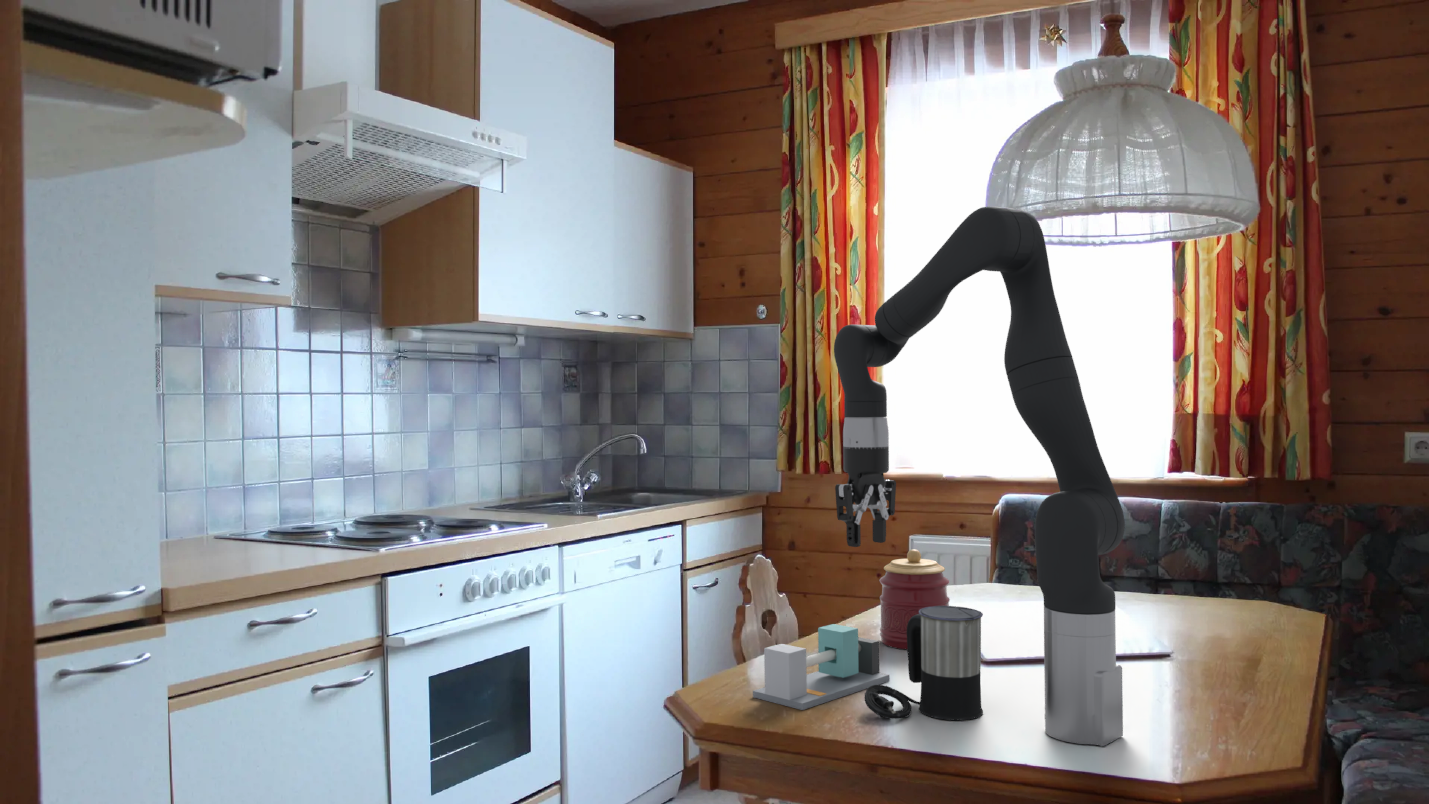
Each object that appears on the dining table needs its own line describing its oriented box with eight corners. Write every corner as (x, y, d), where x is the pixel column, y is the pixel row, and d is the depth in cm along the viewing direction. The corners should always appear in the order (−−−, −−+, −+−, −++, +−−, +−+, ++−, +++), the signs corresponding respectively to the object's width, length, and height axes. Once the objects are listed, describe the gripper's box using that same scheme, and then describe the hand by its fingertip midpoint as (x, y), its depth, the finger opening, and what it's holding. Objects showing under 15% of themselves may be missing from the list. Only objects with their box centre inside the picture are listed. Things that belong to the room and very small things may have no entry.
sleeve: (858, 673, 169) (858, 628, 169) (843, 677, 166) (842, 632, 166) (834, 667, 172) (833, 624, 172) (818, 672, 169) (818, 627, 169)
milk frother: (996, 712, 153) (995, 611, 153) (933, 737, 142) (932, 628, 142) (916, 693, 163) (915, 598, 163) (851, 715, 153) (850, 613, 153)
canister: (931, 654, 188) (930, 556, 188) (867, 645, 195) (866, 550, 195) (961, 641, 198) (960, 547, 198) (899, 632, 206) (898, 542, 206)
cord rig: (889, 680, 170) (889, 631, 170) (802, 710, 155) (801, 656, 155) (840, 670, 178) (840, 623, 178) (752, 697, 162) (752, 645, 162)
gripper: (857, 446, 167) (858, 551, 167) (909, 443, 177) (910, 541, 177) (821, 445, 172) (822, 546, 172) (873, 442, 182) (874, 538, 182)
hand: (866, 544), depth 175 cm, fingers open, 6 cm apart
